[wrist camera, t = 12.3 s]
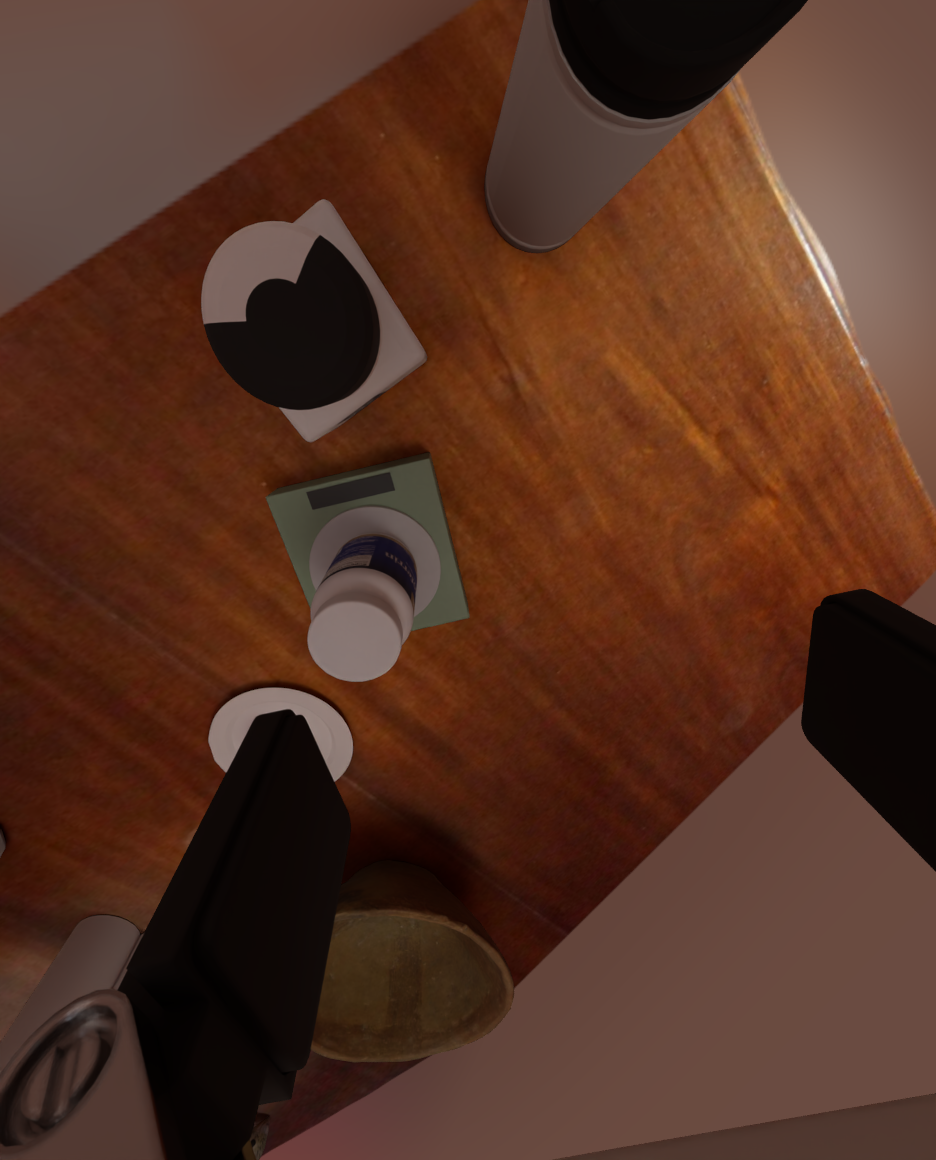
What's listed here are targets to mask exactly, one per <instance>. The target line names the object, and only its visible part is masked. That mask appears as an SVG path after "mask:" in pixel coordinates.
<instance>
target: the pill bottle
mask: <svg viewBox="0 0 936 1160" xmlns="http://www.w3.org/2000/svg"><path fill="white" fill-rule="evenodd" d="M416 588H417V565H416V562H415V559H414V557H413V555H412V553H411V552H410V550H409V549H408V548H407V547H406V546H405V545H404V544H403V543H402V542H401V541H399V540H398V539H396V538H394V537H392V536H389V535H386V534H382V533H366V534H361V535H358V536H356V537H354V538H352V539H350V540H349V541H347V542H346V543H345V544H344V545H343V546H342V547H341V548H340V550H339V551H338V553H337V554H336V556H335V558H334V559H333V561H332V563H331V565H330V567H329V569H328V570H327V572H326V574H325V576H324V578H323V580H322V581H321V583H320V585H319V587H318V589H317V590H316V593H315V595H314V597H313V600H312V604H311V621H312V622H311V625H310V627H309V631H308V647H309V651H310V654H311V655H312V657H313V659H314V661H315V662H316V663H317V665H318V666H319V667H320V668H321V669H323V670H324V671H325V672H326V673H328V674H330V675H332V676H333V677H336V678H338V679H341V680H345V681H352V682H361V681H368V680H372V679H374V678H377V677H379V676H381V675H383V674H384V673H386V672H387V671H388V670H389V669H390V668H391V667H392V666H393V665H394V663H395V662H396V660H397V658H398V656H399V654H400V650H401V646H402V645H403V643H404V642H405V641H406V639H407V638H408V636H409V634H410V631H411V628H412V625H413V619H414V610H415V598H416Z"/></svg>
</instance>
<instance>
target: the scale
mask: <svg viewBox="0 0 936 1160" xmlns="http://www.w3.org/2000/svg"><path fill="white" fill-rule="evenodd" d="M266 500H267V502H268V505H269V507H270V510H271V512H272V515H273V517H274V520H275V522H276V525H277V527H278V529H279V532H280V534H281V537H282V539H283V542H284V544H285V547H286V549H287V552H288V554H289V557H290V559H291V562H292V564H293V567H294V569H295V571H296V574H297V576H298V579H299V581H300V584H301V586H302V589H303V591H304V594H305V596H306V599H307V601H308V604H309V606H310V609H311V604H312V600H313V597H314V595H315V593H316V590H317V589H318V587H319V585H320V583H321V581H322V580H323V578H324V576H325V574H326V572H327V570H328V569H329V567H330V565H331V563H332V561H333V559H334V558H335V556H336V554H337V553H338V551H339V550H340V548H341V547H342V546H343V545H344V544H345V543H346V542H347V541H349V540H350V539H352V538H354V537H356V536H358V535H361V534H366V533H382V534H386V535H389V536H392V537H394V538H396V539H398V540H399V541H401V542H402V543H403V544H404V545H405V546H406V547H407V548H408V549H409V550H410V552H411V553H412V555H413V557H414V559H415V562H416V565H417V588H416V598H415V610H414V619H413V625H412V628H411V631H413V630H417V629H422V628H426V627H431V626H435V625H439V624H444V623H448V622H453V621H457V620H462V619H466V618H469V609H468V602H467V598H466V594H465V590H464V586H463V582H462V578H461V574H460V570H459V566H458V562H457V558H456V554H455V550H454V546H453V542H452V538H451V534H450V530H449V526H448V522H447V518H446V514H445V510H444V506H443V502H442V498H441V494H440V490H439V486H438V482H437V478H436V474H435V470H434V466H433V462H432V458H431V454H430V453H429V452H428V453H424V454H420V455H415V456H411V457H407V458H403V459H399V460H394V461H390V462H386V463H382V464H378V465H374V466H369V467H365V468H361V469H357V470H353V471H348V472H344V473H340V474H336V475H332V476H327V477H323V478H319V479H315V480H311V481H306V482H302V483H298V484H294V485H290V486H286V487H281V488H277V489H276V490H275V491H273V492H272V493H271V494H269V495H268V496H267V497H266Z"/></svg>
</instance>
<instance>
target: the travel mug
mask: <svg viewBox="0 0 936 1160" xmlns="http://www.w3.org/2000/svg"><path fill="white" fill-rule="evenodd" d="M807 1H808V0H529V1H528V5H527V9H526V13H525V17H524V21H523V25H522V29H521V33H520V37H519V41H518V45H517V49H516V53H515V57H514V61H513V65H512V69H511V73H510V77H509V81H508V85H507V89H506V93H505V97H504V101H503V105H502V109H501V113H500V117H499V121H498V125H497V129H496V133H495V137H494V141H493V145H492V149H491V153H490V157H489V161H488V166H487V170H486V174H485V186H484V189H485V201H486V205H487V209H488V213H489V216H490V218H491V220H492V223H493V225H494V226H495V228H496V229H497V231H498V232H499V234H500V235H501V236H502V237H503V238H504V239H505V240H506V241H507V242H508V243H509V244H511V245H512V246H514V247H515V248H517V249H520V250H522V251H525V252H531V253H542V252H548V251H551V250H554V249H557V248H558V247H560V246H561V245H563V244H565V243H566V242H567V241H568V240H569V239H570V238H572V237H573V236H574V235H575V234H576V233H577V232H578V231H579V230H580V229H581V228H582V227H583V226H584V225H585V224H586V223H587V222H588V221H589V220H590V219H591V218H592V217H593V216H594V215H595V214H596V213H597V212H598V211H599V210H600V209H601V208H602V207H603V206H604V205H605V204H606V203H607V202H608V201H609V200H610V199H611V198H613V197H614V196H615V195H616V194H617V193H618V192H619V191H620V190H621V189H622V188H623V187H624V186H625V185H626V184H627V183H628V182H629V181H630V180H631V179H632V178H633V177H634V176H635V175H636V174H637V173H638V172H639V171H640V170H641V169H642V168H643V167H644V166H645V165H646V164H647V163H648V162H649V161H650V160H651V159H652V158H653V157H654V156H655V155H656V154H657V153H658V152H659V151H660V150H662V149H663V148H664V147H665V146H666V145H667V144H668V143H669V142H670V141H671V140H672V139H673V138H674V137H675V136H676V135H677V134H678V133H679V132H680V131H681V130H682V129H683V128H684V127H685V126H686V125H687V124H688V123H689V122H690V121H691V120H692V119H693V118H694V117H695V116H696V115H697V114H698V113H699V112H700V111H701V110H702V109H703V108H704V107H705V106H706V105H707V104H708V103H710V102H711V101H712V100H713V99H714V98H715V96H716V95H717V94H718V93H720V92H721V91H722V90H723V89H724V88H725V87H726V86H727V85H728V84H729V83H730V82H731V81H732V79H733V78H734V77H735V76H736V74H737V73H738V72H739V70H740V69H741V68H742V67H743V66H744V64H746V63H747V62H748V61H749V60H750V59H751V58H752V57H753V56H754V55H755V54H756V53H757V52H758V51H759V50H760V49H761V48H762V47H763V46H764V45H765V44H766V43H767V42H768V41H769V40H770V39H771V38H772V37H773V36H774V35H775V34H776V33H777V32H778V31H779V30H780V29H781V28H782V27H783V26H784V25H785V24H786V23H788V22H789V20H790V19H792V18H793V17H794V16H795V14H797V13H798V12H799V11H800V10H801V8H802V7H803V6H804V4H805V3H806V2H807Z"/></svg>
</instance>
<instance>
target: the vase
mask: <svg viewBox="0 0 936 1160" xmlns="http://www.w3.org/2000/svg"><path fill="white" fill-rule="evenodd" d="M143 934H144V933H143ZM143 934H141V936H140V931H139V930H138V929H137V928H136V926H135V925H133V924H132V923H130V922H129V921H127V920H125V919H122V918H119V917H115V916H109V915H97V916H92V917H88V918H86V919H84V920H82V921H80V922H79V923H78V924H77V925H76V927H75V928H74V930H73V931H72V933H71V934H70V936H69V938H68V939H67V941H66V942H65V944H64V945H63V947H62V948H61V950H60V951H59V953H58V955H57V956H56V958H55V959H54V961H53V962H52V964H51V965H50V967H49V968H48V970H47V972H46V973H45V975H44V976H43V978H42V979H41V981H40V982H39V984H38V985H37V987H36V988H35V990H34V992H33V993H32V995H31V996H30V998H29V999H28V1001H27V1002H26V1004H25V1005H24V1007H23V1009H22V1010H21V1012H20V1013H19V1015H18V1016H17V1018H16V1019H15V1021H14V1022H13V1024H12V1026H11V1027H10V1029H9V1030H8V1032H7V1033H6V1035H5V1036H4V1038H3V1039H2V1041H1V1043H0V1073H1V1072H2V1070H3V1069H4V1067H5V1066H6V1064H7V1063H8V1061H9V1060H10V1059H11V1057H12V1056H13V1055H14V1054H15V1053H16V1052H17V1050H18V1049H19V1048H20V1047H21V1046H22V1045H23V1043H24V1042H25V1041H26V1040H27V1039H28V1038H29V1037H30V1035H31V1034H32V1033H33V1032H34V1031H36V1030H37V1029H38V1028H39V1027H40V1026H41V1025H42V1024H43V1023H44V1022H45V1021H47V1020H48V1019H49V1018H50V1017H51V1016H52V1015H53V1014H54V1013H56V1012H57V1011H59V1010H60V1009H62V1008H63V1007H65V1006H66V1005H68V1004H69V1003H71V1002H72V1001H74V1000H75V999H77V998H79V997H81V996H84V995H86V994H89V993H91V992H93V991H96V990H103V989H115V990H118V988H119V986H120V984H121V982H122V980H123V978H124V976H125V974H126V972H127V969H126V968H127V966H128V964H129V962H130V960H131V958H132V956H133V954H134V952H135V950H136V948H137V946H138V944H139V942H140V940H141V938H142V936H143Z"/></svg>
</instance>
